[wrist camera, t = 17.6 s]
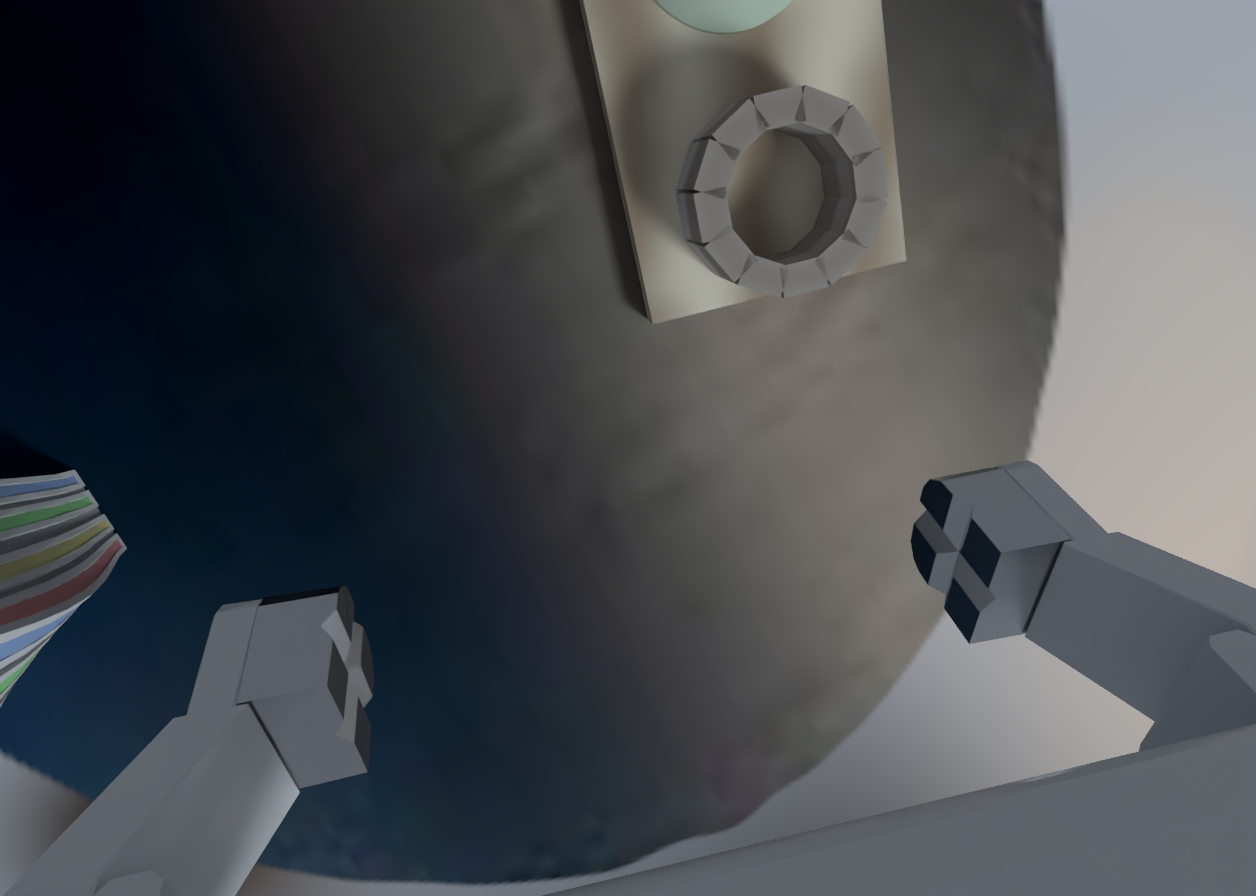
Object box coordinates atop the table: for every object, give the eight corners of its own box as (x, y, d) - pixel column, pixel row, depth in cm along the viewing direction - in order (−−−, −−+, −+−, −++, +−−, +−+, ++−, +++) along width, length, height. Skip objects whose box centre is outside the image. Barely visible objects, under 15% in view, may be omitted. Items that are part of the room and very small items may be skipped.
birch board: (648, 319, 42) (666, 338, 37) (544, -162, 34) (549, -223, 29) (893, 258, 43) (945, 268, 38) (843, -226, 35) (900, -296, 30)
